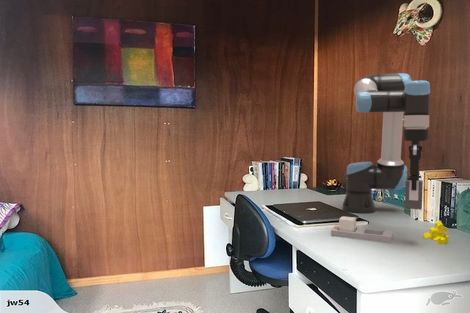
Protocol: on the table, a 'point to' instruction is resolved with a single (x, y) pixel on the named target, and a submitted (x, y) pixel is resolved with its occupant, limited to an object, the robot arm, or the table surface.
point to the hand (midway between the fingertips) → (413, 198)
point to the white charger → (347, 224)
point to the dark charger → (413, 203)
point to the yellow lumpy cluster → (437, 233)
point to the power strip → (364, 234)
